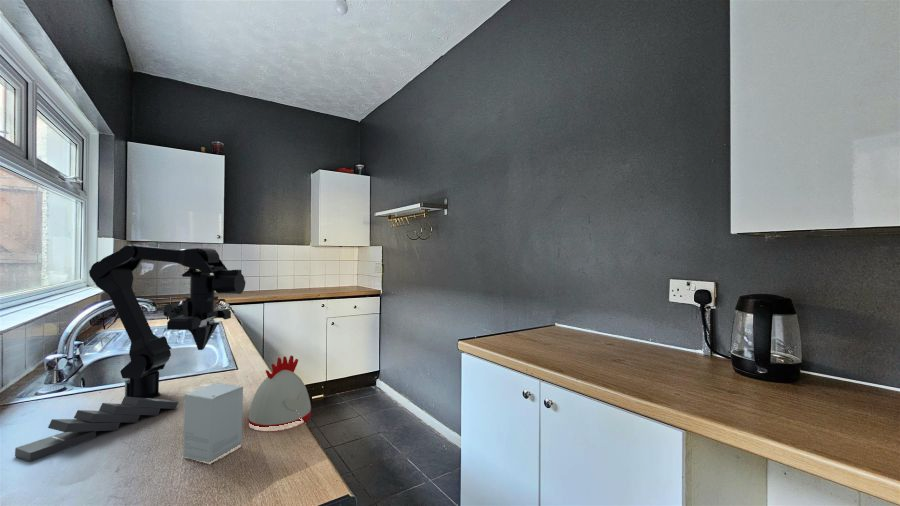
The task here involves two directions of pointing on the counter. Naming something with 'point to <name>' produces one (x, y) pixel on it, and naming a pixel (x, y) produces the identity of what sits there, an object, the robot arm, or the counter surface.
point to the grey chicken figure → (280, 397)
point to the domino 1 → (52, 444)
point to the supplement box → (212, 421)
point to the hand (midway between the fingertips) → (200, 349)
